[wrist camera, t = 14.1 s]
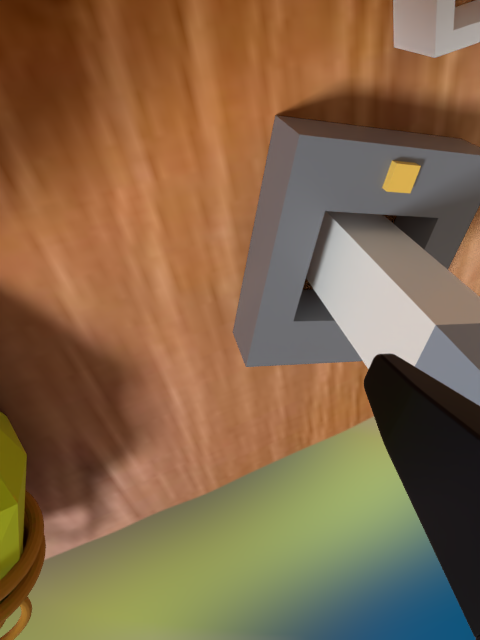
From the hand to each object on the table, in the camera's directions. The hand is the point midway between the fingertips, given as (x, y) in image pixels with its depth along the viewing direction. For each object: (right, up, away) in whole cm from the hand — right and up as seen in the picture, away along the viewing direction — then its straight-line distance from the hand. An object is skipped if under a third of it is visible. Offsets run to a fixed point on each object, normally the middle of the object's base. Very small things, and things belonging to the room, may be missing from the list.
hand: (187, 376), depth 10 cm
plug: (+6, +5, +15) cm, 17 cm away
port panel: (+6, +5, +15) cm, 17 cm away
